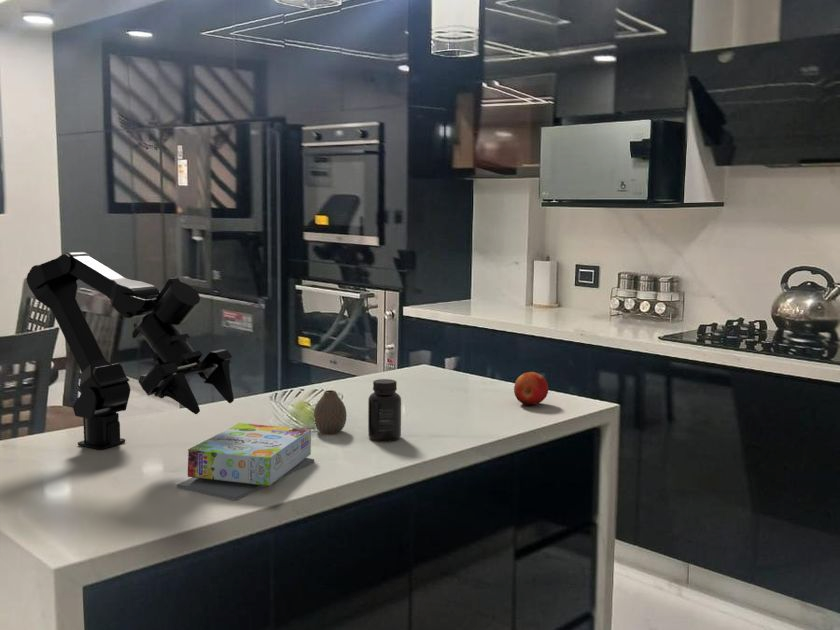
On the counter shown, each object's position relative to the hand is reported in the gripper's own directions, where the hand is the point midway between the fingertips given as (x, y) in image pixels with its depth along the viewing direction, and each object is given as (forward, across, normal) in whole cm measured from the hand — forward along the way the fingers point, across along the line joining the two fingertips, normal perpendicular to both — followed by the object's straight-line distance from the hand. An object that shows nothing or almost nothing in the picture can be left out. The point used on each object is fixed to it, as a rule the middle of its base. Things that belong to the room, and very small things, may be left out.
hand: (215, 407), depth 151 cm
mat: (+13, -1, -3) cm, 13 cm away
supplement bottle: (+20, -33, +3) cm, 39 cm away
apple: (+32, -76, +15) cm, 84 cm away
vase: (+12, -31, -5) cm, 34 cm away
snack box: (+5, -1, -7) cm, 8 cm away
